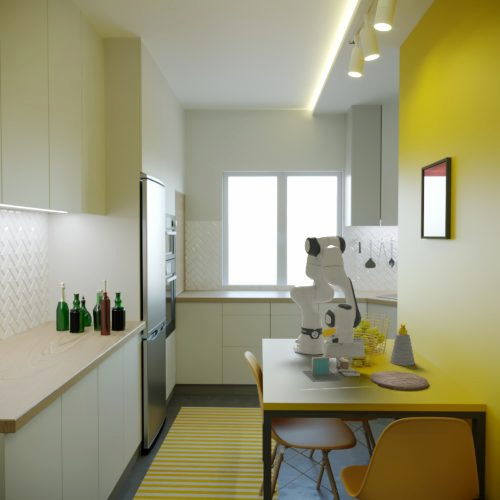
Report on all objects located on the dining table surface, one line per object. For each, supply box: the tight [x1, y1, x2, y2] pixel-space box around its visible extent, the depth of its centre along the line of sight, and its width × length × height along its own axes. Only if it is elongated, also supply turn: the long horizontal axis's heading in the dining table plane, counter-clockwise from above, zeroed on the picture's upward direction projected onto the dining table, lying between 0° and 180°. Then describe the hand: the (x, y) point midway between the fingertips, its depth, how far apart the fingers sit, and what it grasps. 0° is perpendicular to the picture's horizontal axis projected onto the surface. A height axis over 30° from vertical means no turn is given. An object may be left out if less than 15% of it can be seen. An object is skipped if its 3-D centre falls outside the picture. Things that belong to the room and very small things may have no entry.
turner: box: [335, 358, 361, 378], centre depth 232 cm, size 18×7×4 cm, turn 11°
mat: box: [301, 369, 344, 383], centre depth 224 cm, size 18×14×1 cm
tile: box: [311, 356, 330, 375], centre depth 226 cm, size 2×8×8 cm, turn 101°
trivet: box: [369, 370, 429, 392], centre depth 217 cm, size 25×25×2 cm
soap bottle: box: [389, 323, 416, 367], centre depth 252 cm, size 12×12×20 cm
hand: (343, 366), depth 234 cm, fingers closed on turner, 3 cm apart
